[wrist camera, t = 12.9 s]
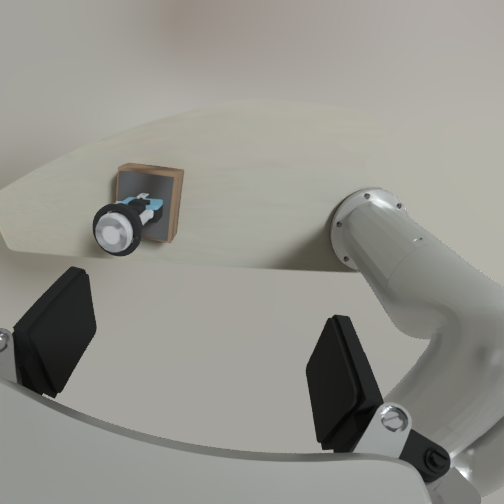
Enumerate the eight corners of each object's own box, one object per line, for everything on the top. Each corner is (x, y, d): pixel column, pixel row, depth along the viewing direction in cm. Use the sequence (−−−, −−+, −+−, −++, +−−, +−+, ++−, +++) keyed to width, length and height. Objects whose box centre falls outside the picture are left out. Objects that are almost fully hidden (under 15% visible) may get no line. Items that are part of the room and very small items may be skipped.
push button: (118, 221, 34) (80, 255, 25) (117, 181, 31) (75, 204, 22) (165, 227, 34) (137, 264, 25) (166, 185, 32) (135, 210, 23)
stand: (184, 169, 35) (177, 174, 31) (176, 233, 39) (169, 244, 35) (128, 162, 34) (117, 167, 31) (125, 224, 38) (114, 233, 34)
